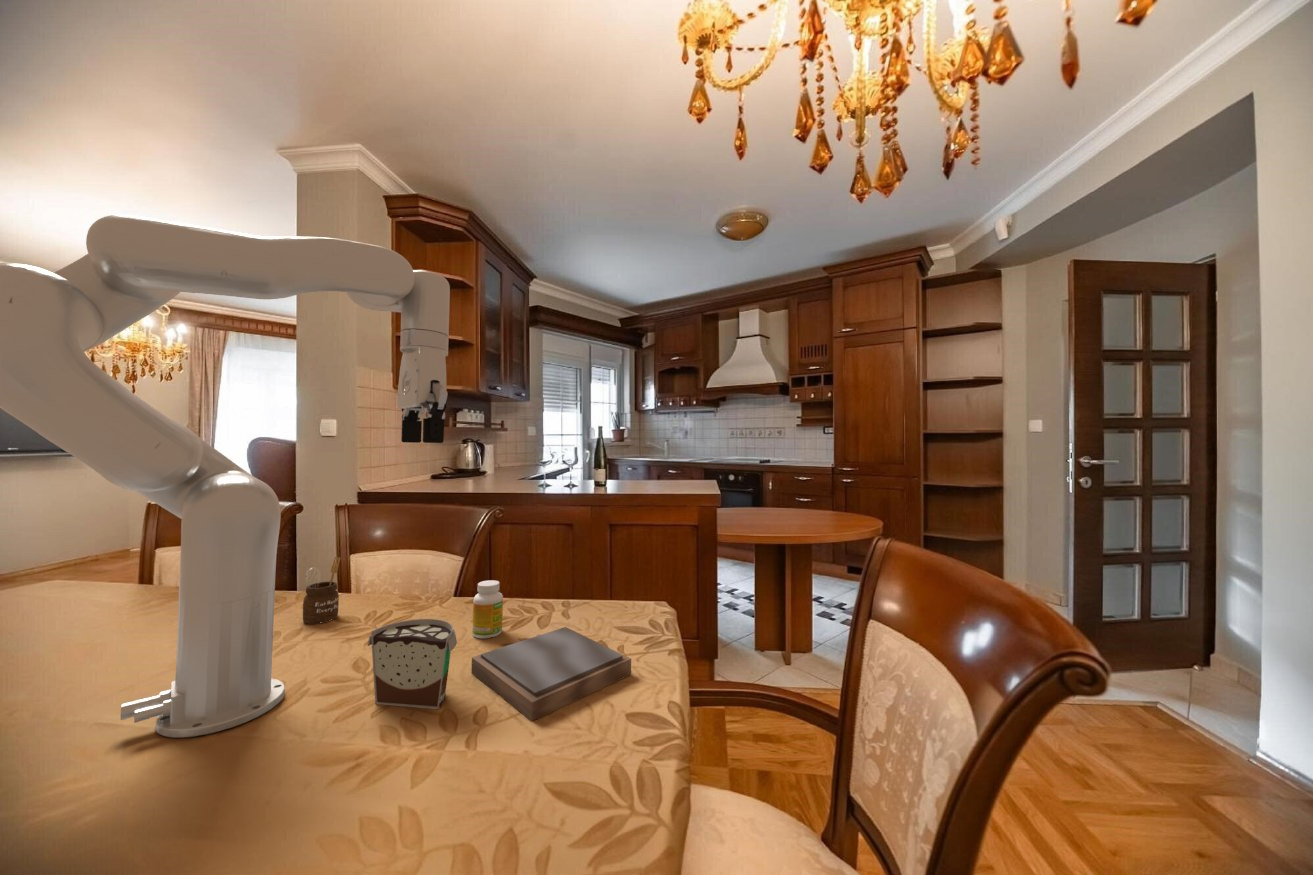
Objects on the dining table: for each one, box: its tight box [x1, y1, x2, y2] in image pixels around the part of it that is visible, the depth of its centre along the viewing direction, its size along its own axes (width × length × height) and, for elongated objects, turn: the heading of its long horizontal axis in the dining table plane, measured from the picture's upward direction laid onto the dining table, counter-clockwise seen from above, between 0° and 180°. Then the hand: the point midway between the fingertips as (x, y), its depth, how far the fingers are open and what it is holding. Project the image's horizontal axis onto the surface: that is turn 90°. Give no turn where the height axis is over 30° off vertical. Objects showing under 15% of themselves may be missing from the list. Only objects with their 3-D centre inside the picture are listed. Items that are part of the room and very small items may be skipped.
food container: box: [367, 618, 458, 710], centre depth 67 cm, size 12×6×10 cm, turn 84°
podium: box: [470, 626, 632, 722], centre depth 73 cm, size 18×18×3 cm
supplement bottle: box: [471, 579, 504, 640], centre depth 88 cm, size 5×5×10 cm
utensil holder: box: [302, 556, 341, 625], centre depth 94 cm, size 6×6×12 cm
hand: (421, 442), depth 80 cm, fingers open, 9 cm apart
